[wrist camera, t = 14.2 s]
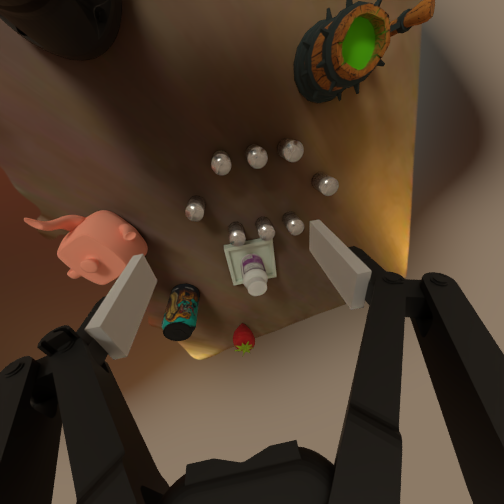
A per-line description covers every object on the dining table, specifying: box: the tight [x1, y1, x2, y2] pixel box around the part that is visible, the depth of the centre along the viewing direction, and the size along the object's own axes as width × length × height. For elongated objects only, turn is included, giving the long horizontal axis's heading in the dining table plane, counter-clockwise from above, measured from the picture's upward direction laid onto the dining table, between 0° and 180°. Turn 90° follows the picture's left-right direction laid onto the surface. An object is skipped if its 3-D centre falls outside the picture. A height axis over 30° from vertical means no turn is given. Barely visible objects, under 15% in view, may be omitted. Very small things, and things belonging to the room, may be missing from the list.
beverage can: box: [162, 284, 200, 341], centre depth 47 cm, size 7×7×12 cm
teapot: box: [24, 210, 148, 285], centre depth 37 cm, size 14×14×11 cm
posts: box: [185, 138, 339, 247], centre depth 39 cm, size 28×17×5 cm, turn 99°
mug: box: [293, 0, 435, 103], centre depth 27 cm, size 13×10×12 cm
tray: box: [224, 238, 277, 285], centre depth 49 cm, size 11×11×2 cm
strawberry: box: [233, 323, 255, 354], centre depth 58 cm, size 6×8×10 cm
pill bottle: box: [240, 253, 268, 296], centre depth 45 cm, size 5×5×10 cm
